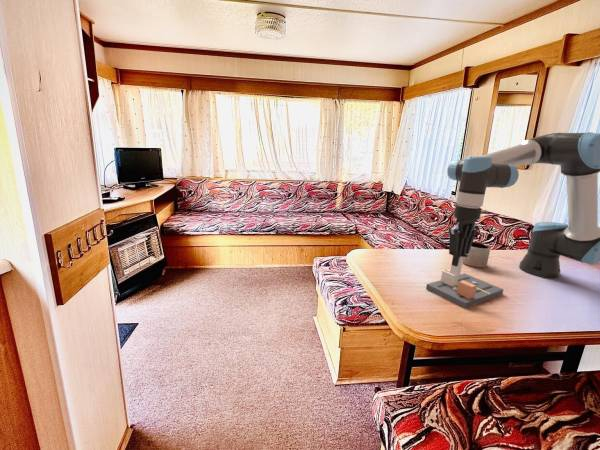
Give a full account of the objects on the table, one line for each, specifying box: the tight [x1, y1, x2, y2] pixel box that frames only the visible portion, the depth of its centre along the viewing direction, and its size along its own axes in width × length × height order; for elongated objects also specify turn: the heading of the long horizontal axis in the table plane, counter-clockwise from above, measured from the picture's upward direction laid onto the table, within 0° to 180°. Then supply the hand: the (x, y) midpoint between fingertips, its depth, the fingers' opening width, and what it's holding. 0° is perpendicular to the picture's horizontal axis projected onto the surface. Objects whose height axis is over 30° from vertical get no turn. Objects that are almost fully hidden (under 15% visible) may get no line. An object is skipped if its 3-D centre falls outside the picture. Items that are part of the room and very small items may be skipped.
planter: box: [462, 241, 491, 269], centre depth 150 cm, size 11×11×10 cm
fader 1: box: [440, 269, 459, 287], centre depth 123 cm, size 3×5×5 cm, turn 31°
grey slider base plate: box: [425, 272, 504, 309], centre depth 122 cm, size 24×16×3 cm, turn 121°
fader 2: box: [456, 280, 477, 299], centre depth 114 cm, size 3×5×5 cm, turn 31°
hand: (454, 274), depth 107 cm, fingers closed
